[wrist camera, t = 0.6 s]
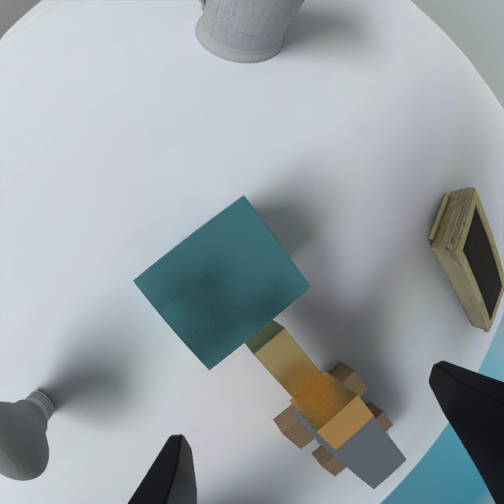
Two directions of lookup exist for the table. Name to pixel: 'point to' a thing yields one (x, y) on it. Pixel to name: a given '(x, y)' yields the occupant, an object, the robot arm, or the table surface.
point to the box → (468, 255)
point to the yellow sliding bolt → (310, 386)
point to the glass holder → (245, 28)
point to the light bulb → (24, 436)
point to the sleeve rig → (254, 321)
